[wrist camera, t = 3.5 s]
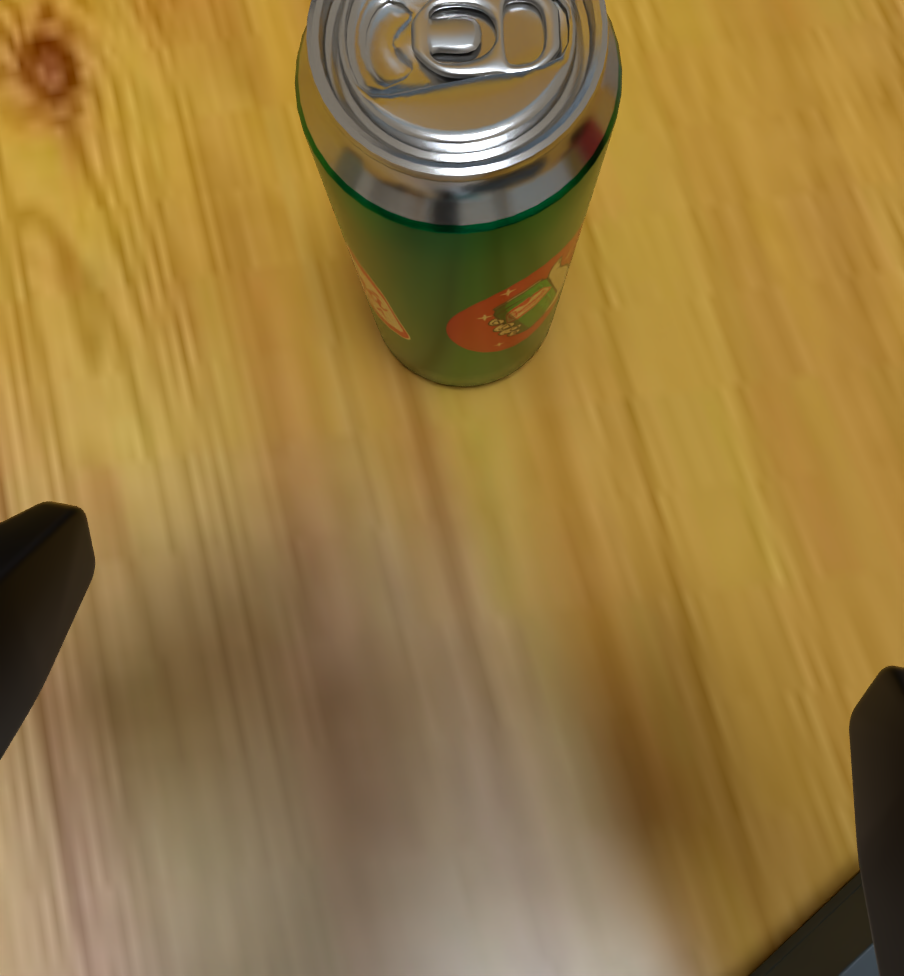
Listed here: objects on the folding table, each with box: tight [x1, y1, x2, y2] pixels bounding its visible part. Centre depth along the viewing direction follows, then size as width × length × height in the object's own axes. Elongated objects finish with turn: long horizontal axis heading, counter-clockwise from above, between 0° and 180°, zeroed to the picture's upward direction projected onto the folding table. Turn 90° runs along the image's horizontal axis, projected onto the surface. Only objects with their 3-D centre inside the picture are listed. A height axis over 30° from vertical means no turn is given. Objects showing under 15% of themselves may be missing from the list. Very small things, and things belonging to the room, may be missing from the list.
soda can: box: [295, 0, 622, 386], centre depth 18 cm, size 5×5×12 cm
